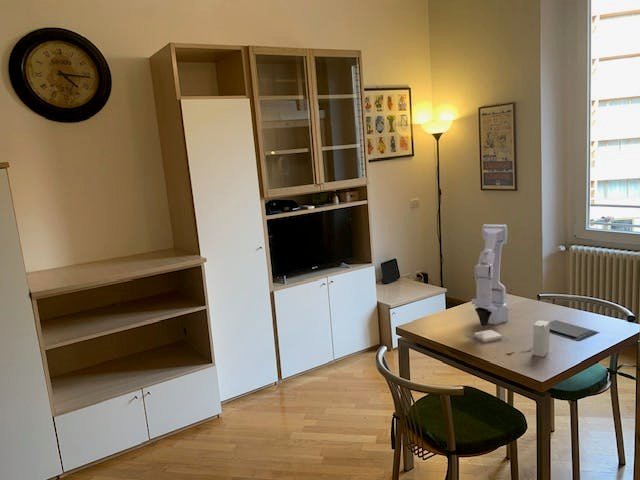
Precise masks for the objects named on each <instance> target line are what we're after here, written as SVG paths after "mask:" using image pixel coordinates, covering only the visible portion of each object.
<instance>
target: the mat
mask: <svg viewBox="0 0 640 480" xmlns="http://www.w3.org/2000/svg"><path fill="white" fill-rule="evenodd" d="M465 338H468V339H470V340H471V341H473V342H475V343H476V344H478V345H480V346H481V347H484V346H489V345H495V344H499V343H503V342H504V343H505V342H509V341H511V339H509V338H507V337H505V336H503V335H502V340H497V341H492V342H487V343H484V342H482V341H480V340H479V339H477V338H475V337H474V333H471V334H466V335H465Z"/></svg>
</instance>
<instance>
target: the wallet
mask: <svg viewBox="0 0 640 480" xmlns="http://www.w3.org/2000/svg"><path fill="white" fill-rule="evenodd" d="M549 322H550V329H549V334H552V335H556V336H557V337H562V338H565V339H569V340H570V341H571V340H572V341H575V342H581V341H584V340H586V339H588V338H590V337H594V336H595V335H598V334H600V331H597V330H594V329H590V328H586V327H583V326H580V325H575V324H573V323H570V322H569V323H568V322H565V321H562V320H557V319H554V320H552V321H549Z"/></svg>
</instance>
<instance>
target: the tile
mask: <svg viewBox="0 0 640 480" xmlns="http://www.w3.org/2000/svg"><path fill="white" fill-rule="evenodd" d="M473 334H474V337H475V338H477V339H479V340H480V341H482V342H484V343H487V342H492V341H497V340H502V336H503V335H502V334H500V333H499V332H496V331H494V330H492V329H487V330H482V331H476V332H474V333H473Z"/></svg>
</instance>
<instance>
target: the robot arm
mask: <svg viewBox="0 0 640 480" xmlns="http://www.w3.org/2000/svg"><path fill="white" fill-rule="evenodd" d="M508 230H509V229H508V226H507V224H488V223H487V224H486V223H484V224H483V225H482V227H481V237H482V239H483V240H484V248H483V249H484V250H481V251H480V255H479V258H478V263H477V264H476V265H475V266H474V278H475V281H474V282H475V284H476V298H472V299H471V305H474V307H475V309H474V311H475V312H476V314H477V317H478V319H479V323H480V326H481V327H486V326H488V324H491V325H498V324H499V325H500V324H502V323H506V322H509V307H508V305H507V304H506V300H507V289H506V286H505V285H504V284H502V283H501V282H500V280H501V279H500V277H501V276H500V275H501V262H502V261H501V259H502V249H503V245H506V244H507V241H508Z"/></svg>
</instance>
